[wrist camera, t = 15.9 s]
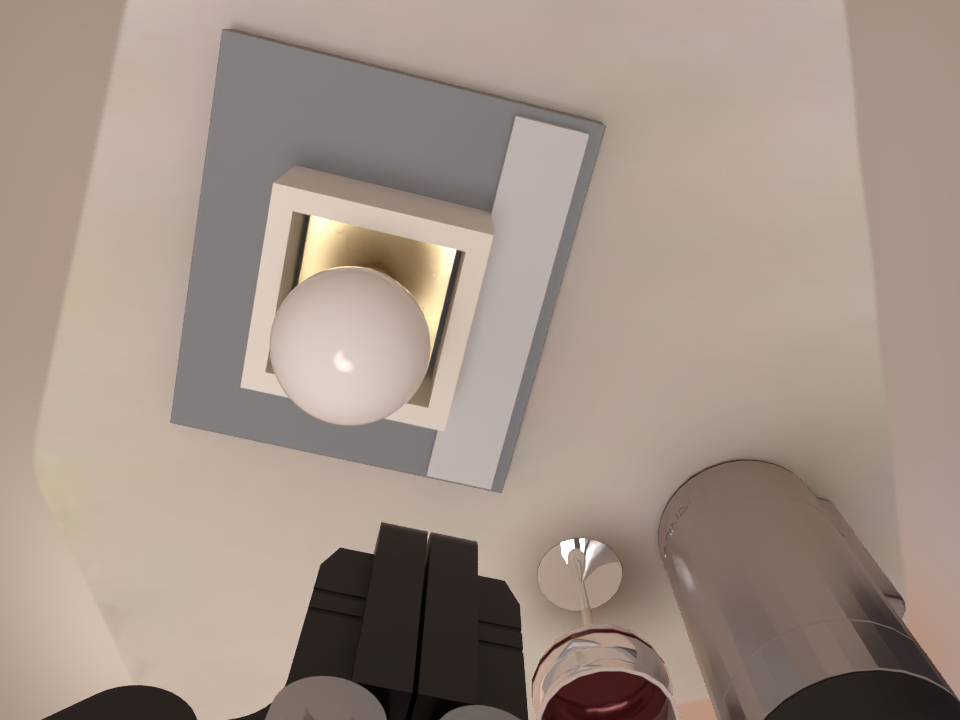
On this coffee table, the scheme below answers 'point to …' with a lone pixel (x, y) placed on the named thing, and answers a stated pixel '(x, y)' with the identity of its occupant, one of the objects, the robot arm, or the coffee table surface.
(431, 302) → the socket plunger
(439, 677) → the robot arm
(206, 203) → the socket board
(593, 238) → the coffee table surface
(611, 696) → the wineglass
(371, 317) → the lightbulb
